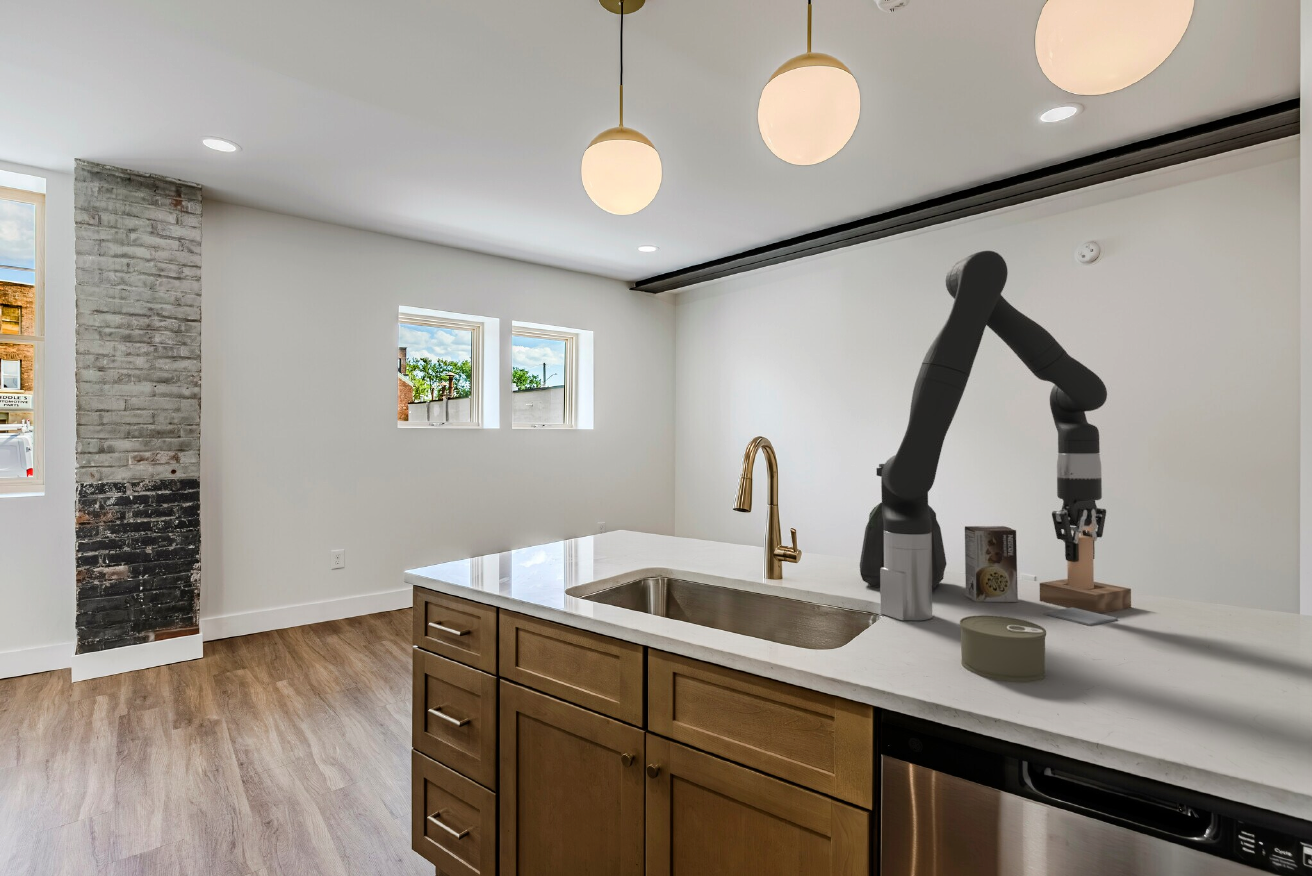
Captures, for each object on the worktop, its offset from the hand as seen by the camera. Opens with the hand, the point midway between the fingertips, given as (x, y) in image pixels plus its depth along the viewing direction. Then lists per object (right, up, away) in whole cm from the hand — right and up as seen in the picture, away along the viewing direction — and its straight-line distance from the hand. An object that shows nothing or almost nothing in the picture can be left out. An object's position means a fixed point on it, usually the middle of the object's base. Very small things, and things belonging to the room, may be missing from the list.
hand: (1080, 559), depth 129 cm
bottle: (-24, -12, +30) cm, 40 cm away
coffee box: (-10, -12, +15) cm, 22 cm away
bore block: (+8, -12, +10) cm, 17 cm away
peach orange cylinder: (0, -5, 0) cm, 5 cm away
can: (-31, -12, -28) cm, 44 cm away
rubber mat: (0, -12, 0) cm, 12 cm away
